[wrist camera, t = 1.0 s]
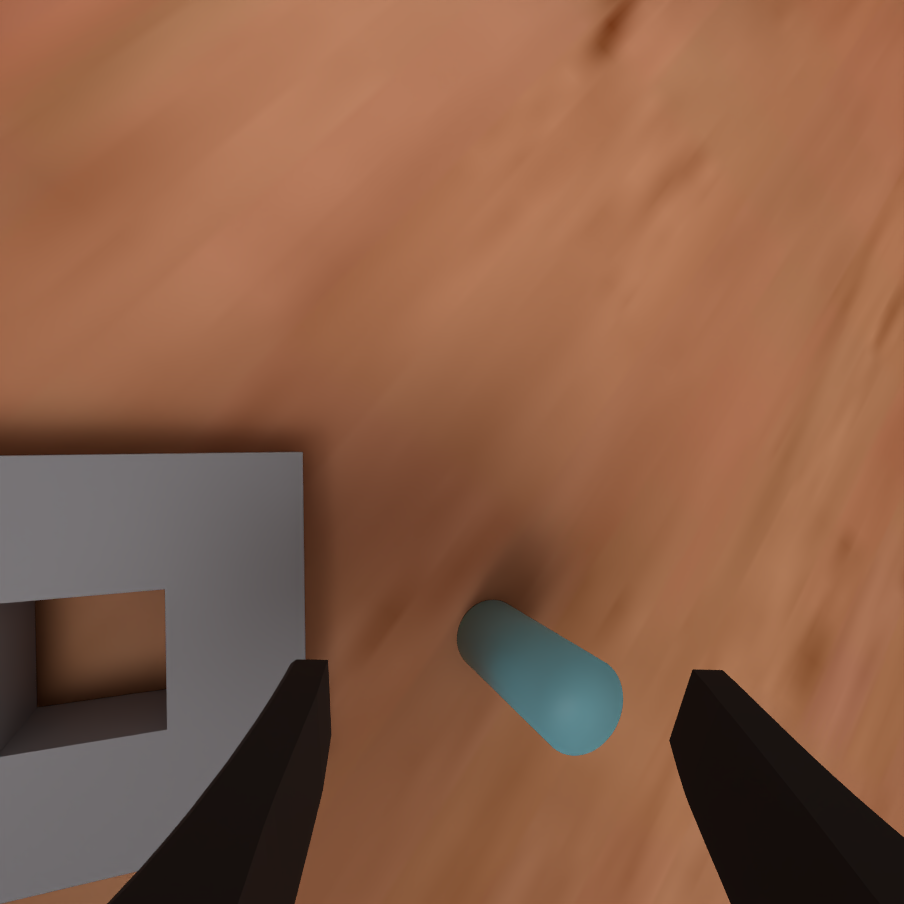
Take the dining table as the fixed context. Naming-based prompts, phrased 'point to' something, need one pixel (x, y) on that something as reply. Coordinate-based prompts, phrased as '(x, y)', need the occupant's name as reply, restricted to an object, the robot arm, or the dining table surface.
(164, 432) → the dining table surface
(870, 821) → the robot arm
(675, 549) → the dining table surface
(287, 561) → the socket
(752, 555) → the dining table surface
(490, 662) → the peg
